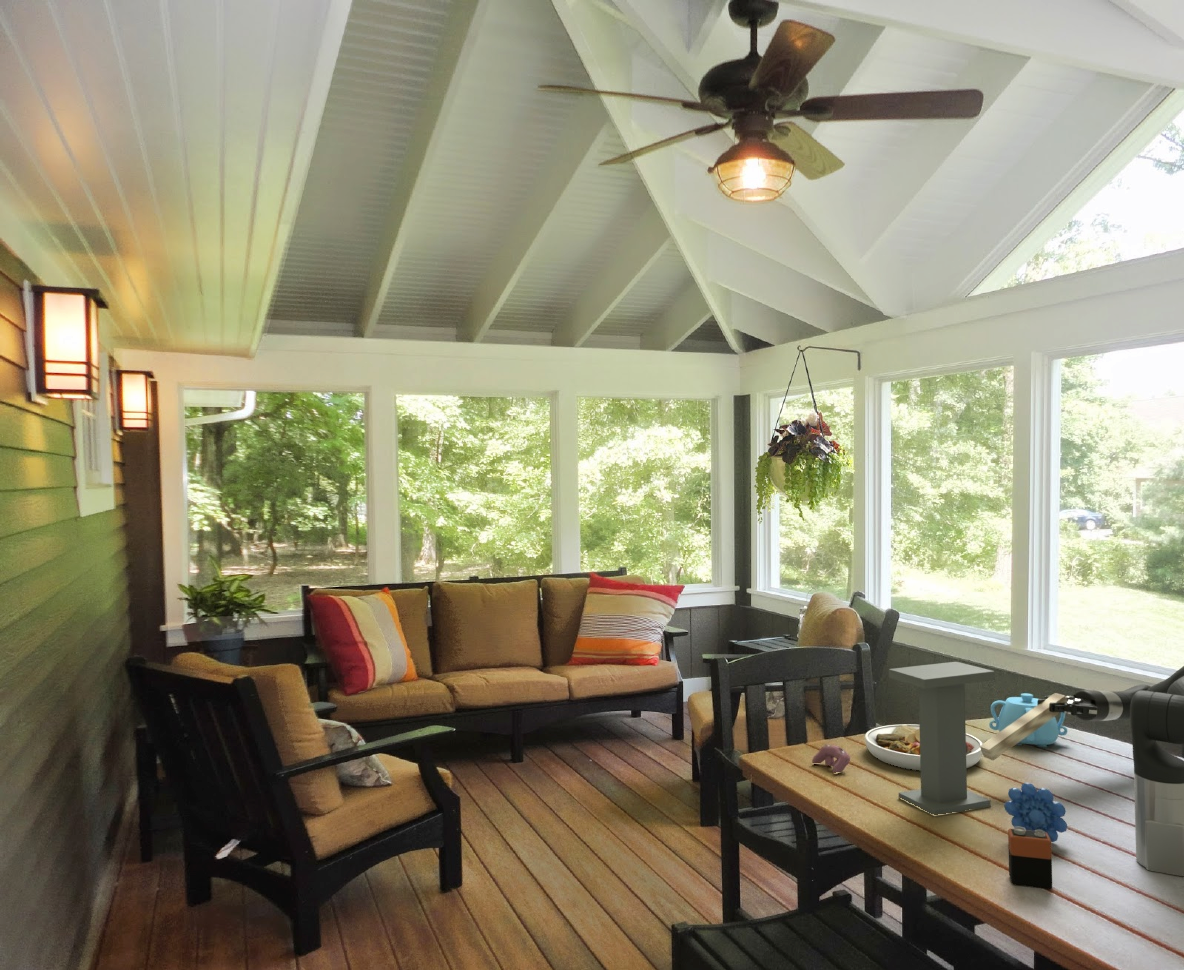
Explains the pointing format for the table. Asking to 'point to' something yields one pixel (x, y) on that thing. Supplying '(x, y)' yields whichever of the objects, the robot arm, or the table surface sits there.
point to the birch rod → (1021, 728)
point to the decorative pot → (1017, 709)
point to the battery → (1030, 858)
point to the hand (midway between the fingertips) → (1044, 705)
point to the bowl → (909, 746)
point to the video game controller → (832, 757)
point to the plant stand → (943, 735)
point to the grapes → (1036, 810)
